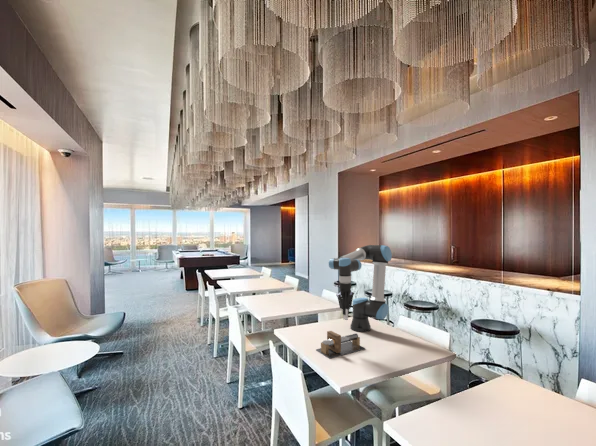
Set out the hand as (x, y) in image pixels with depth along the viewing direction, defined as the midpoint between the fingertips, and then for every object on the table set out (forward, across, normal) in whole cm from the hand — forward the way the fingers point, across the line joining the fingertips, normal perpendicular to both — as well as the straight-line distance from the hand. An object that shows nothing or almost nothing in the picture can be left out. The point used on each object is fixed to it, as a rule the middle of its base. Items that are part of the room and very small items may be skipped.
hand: (345, 319), depth 186 cm
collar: (+17, +10, 0) cm, 20 cm away
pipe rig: (+18, +4, 0) cm, 19 cm away
